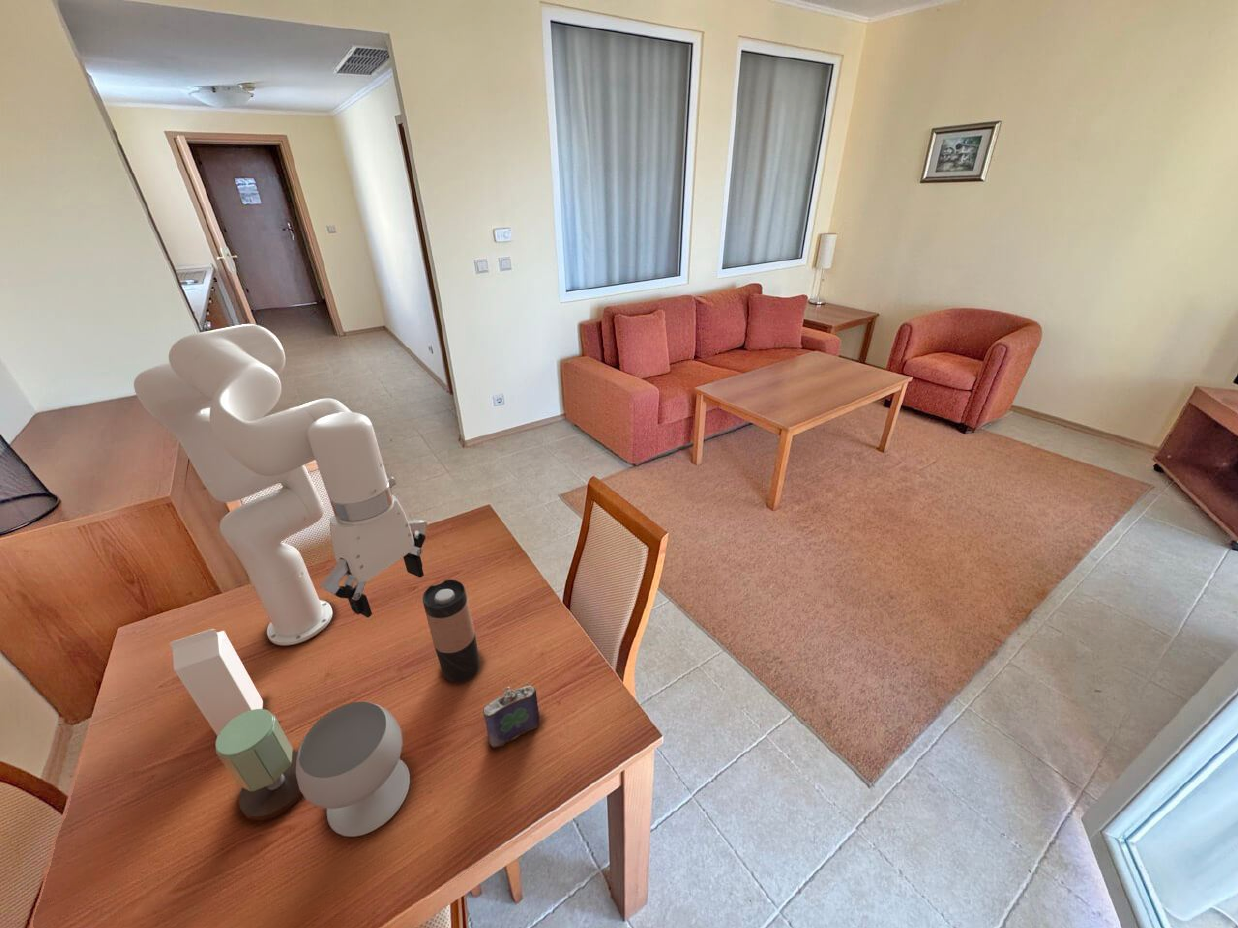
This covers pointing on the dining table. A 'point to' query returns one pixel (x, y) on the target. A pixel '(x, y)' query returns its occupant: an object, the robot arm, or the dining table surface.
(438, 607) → the travel mug
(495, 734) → the flask
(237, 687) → the milk
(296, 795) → the towel holder
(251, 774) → the green cup
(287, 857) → the dining table surface
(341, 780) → the chalice
